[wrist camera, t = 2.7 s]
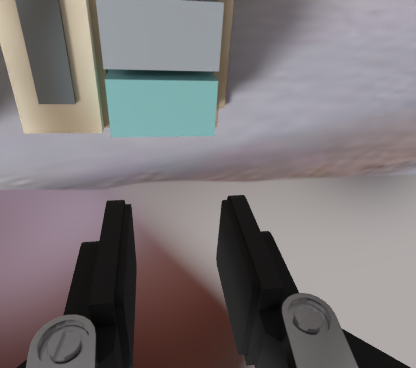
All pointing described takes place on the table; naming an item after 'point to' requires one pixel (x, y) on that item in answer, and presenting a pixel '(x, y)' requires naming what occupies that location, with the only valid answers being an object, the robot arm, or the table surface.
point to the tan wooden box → (68, 64)
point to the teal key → (161, 103)
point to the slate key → (160, 34)
